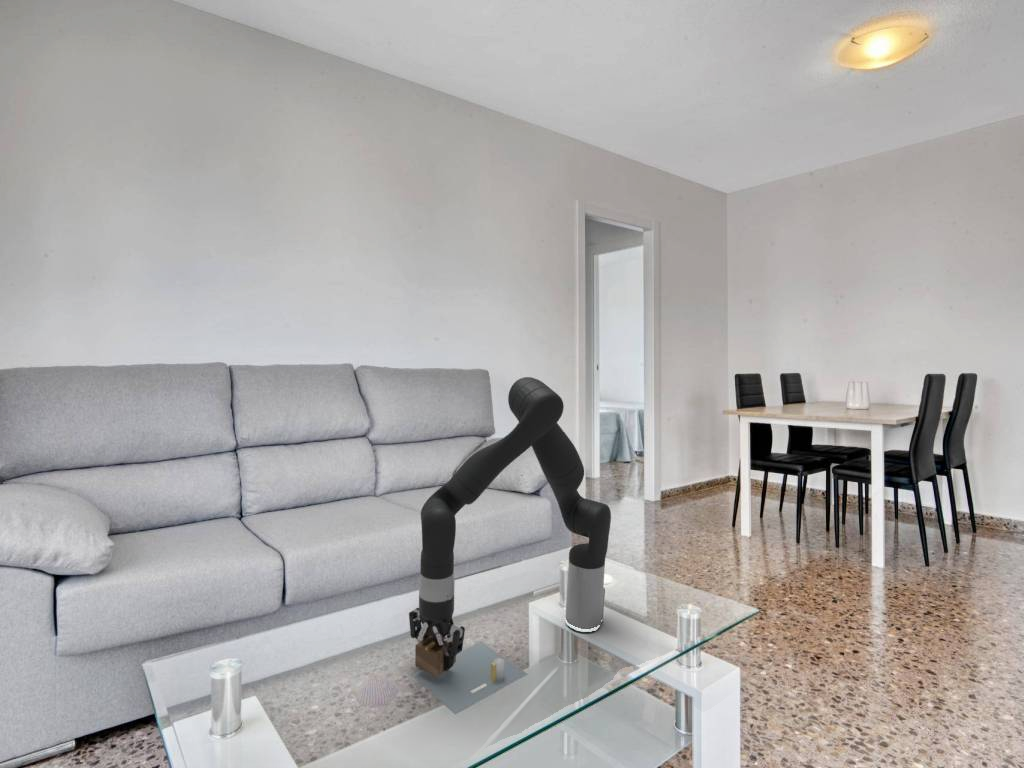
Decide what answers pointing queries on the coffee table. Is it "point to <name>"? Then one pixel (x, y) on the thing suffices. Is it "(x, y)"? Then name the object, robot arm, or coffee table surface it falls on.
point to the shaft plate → (470, 677)
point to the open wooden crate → (430, 656)
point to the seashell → (377, 690)
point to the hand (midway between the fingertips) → (435, 662)
